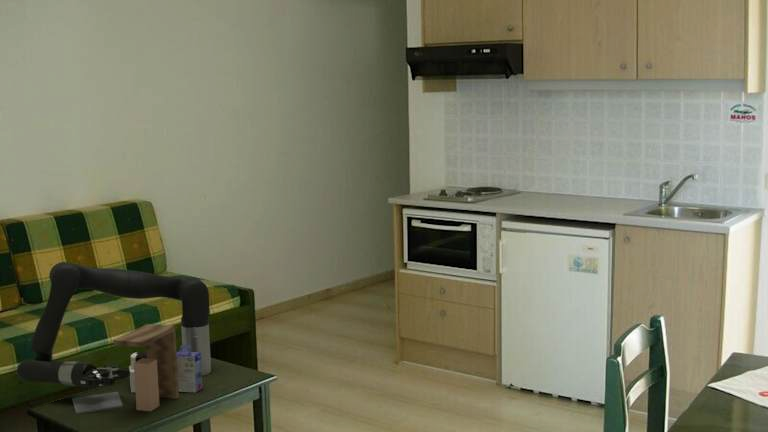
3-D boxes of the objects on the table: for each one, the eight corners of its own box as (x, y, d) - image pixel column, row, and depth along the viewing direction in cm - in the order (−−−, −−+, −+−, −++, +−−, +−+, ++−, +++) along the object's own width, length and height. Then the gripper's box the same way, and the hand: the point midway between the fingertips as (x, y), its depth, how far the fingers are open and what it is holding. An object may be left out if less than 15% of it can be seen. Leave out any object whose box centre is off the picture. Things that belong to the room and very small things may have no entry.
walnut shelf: (118, 415, 279) (113, 340, 276) (151, 394, 297) (147, 324, 294) (146, 418, 276) (142, 342, 273) (178, 397, 294) (175, 325, 291)
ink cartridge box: (203, 387, 303) (201, 345, 301) (196, 393, 298) (194, 349, 295) (175, 386, 305) (173, 344, 303) (168, 391, 300) (165, 348, 297)
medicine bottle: (152, 383, 308) (150, 349, 306) (153, 390, 301) (151, 354, 300) (130, 386, 306) (128, 351, 304) (131, 392, 299) (129, 357, 297)
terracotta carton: (136, 409, 283) (133, 362, 281) (145, 404, 288) (142, 358, 286) (150, 411, 282) (148, 364, 280) (159, 405, 287) (156, 359, 284)
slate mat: (72, 400, 293) (72, 398, 293) (117, 393, 299) (117, 391, 299) (76, 414, 281) (75, 412, 281) (123, 407, 286) (123, 405, 286)
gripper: (62, 369, 284) (107, 373, 279) (89, 355, 297) (133, 359, 292) (64, 392, 285) (109, 396, 280) (91, 378, 298) (135, 382, 294)
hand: (121, 377), depth 286 cm, fingers open, 8 cm apart
